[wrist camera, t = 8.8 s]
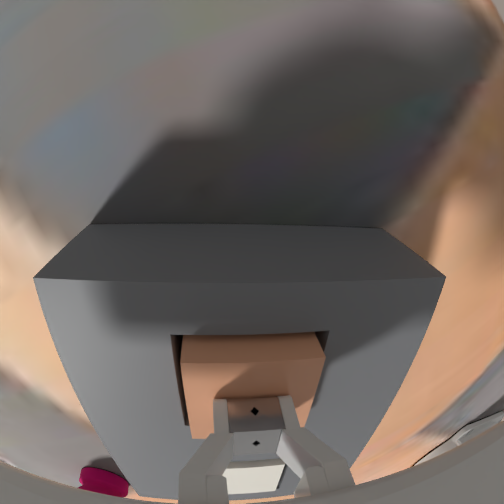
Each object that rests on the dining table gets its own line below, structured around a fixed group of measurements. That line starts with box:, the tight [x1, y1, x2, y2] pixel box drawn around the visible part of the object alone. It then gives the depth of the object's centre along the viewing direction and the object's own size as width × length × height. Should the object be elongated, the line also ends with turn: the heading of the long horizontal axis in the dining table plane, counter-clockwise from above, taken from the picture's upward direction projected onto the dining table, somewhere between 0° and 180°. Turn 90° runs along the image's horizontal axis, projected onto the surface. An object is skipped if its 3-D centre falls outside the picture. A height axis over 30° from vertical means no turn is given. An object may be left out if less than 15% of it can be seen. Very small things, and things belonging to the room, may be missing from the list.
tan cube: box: [180, 332, 326, 439], centre depth 13 cm, size 5×5×5 cm
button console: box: [33, 224, 446, 500], centre depth 16 cm, size 16×20×6 cm
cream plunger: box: [222, 458, 285, 494], centre depth 17 cm, size 5×5×5 cm
